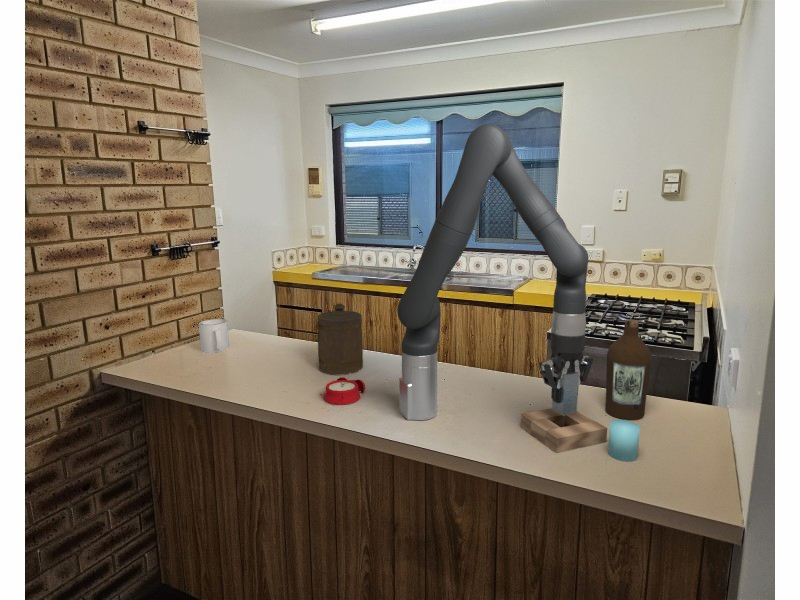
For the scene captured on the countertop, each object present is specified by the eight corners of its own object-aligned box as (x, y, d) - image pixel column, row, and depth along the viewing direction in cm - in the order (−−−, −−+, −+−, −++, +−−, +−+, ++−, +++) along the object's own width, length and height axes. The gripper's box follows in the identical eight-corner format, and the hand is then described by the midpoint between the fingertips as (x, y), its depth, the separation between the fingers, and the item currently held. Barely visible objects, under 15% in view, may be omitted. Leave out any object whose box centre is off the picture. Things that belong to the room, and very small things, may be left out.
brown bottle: (602, 402, 141) (609, 314, 136) (645, 407, 137) (653, 317, 132) (602, 417, 132) (609, 323, 126) (648, 424, 128) (657, 327, 123)
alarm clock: (314, 392, 142) (338, 364, 154) (318, 410, 144) (341, 382, 157) (348, 397, 138) (370, 368, 151) (351, 416, 140) (372, 386, 153)
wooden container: (363, 360, 180) (362, 299, 175) (362, 374, 165) (360, 308, 161) (321, 361, 179) (318, 299, 175) (316, 375, 165) (313, 309, 160)
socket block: (556, 453, 114) (557, 438, 113) (520, 427, 127) (521, 414, 126) (606, 441, 119) (607, 427, 118) (566, 418, 132) (567, 405, 131)
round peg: (622, 463, 109) (624, 433, 108) (601, 451, 115) (604, 422, 113) (643, 458, 111) (646, 428, 110) (622, 446, 117) (625, 417, 115)
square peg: (562, 415, 119) (564, 375, 117) (551, 409, 123) (553, 369, 121) (576, 413, 120) (578, 372, 118) (565, 406, 124) (567, 367, 122)
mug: (235, 352, 190) (233, 324, 188) (207, 357, 185) (205, 328, 182) (224, 343, 201) (222, 317, 199) (197, 348, 195) (195, 321, 193)
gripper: (552, 338, 112) (549, 411, 115) (604, 331, 117) (599, 401, 120) (532, 330, 118) (529, 399, 122) (581, 323, 123) (578, 390, 127)
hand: (564, 400), depth 121 cm, fingers closed on square peg, 4 cm apart
